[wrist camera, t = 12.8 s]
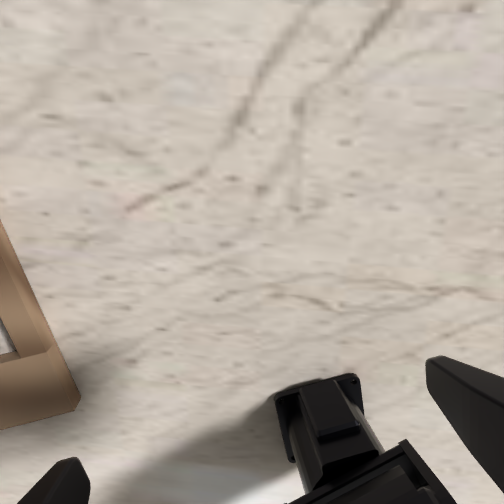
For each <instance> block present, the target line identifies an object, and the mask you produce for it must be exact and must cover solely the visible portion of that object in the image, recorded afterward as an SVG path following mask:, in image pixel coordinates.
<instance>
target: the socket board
mask: <svg viewBox="0 0 504 504" xmlns="http://www.w3.org/2000/svg"><path fill="white" fill-rule="evenodd" d="M0 317H1V319H2V321H3V323H4V325H5V327H6V329H7V331H8V333H9V335H10V337H11V339H12V341H13V343H14V345H15V347H16V349H17V351H15V352H10V353H6V354H2V355H0V430H3V429H7V428H11V427H14V426H18V425H22V424H26V423H30V422H33V421H37V420H41V419H45V418H49V417H52V416H56V415H60V414H64V413H68V412H71V411H74V410H75V408H76V406H77V404H78V403H79V401H80V399H81V396H80V394H79V392H78V389H77V387H76V385H75V383H74V381H73V378H72V376H71V374H70V372H69V370H68V367H67V365H66V363H65V361H64V359H63V356H62V354H61V352H60V350H59V348H58V345H57V343H56V341H55V339H54V337H53V334H52V332H51V330H50V328H49V326H48V324H47V321H46V319H45V317H44V315H43V313H42V310H41V308H40V306H39V304H38V302H37V299H36V297H35V295H34V293H33V291H32V288H31V286H30V284H29V282H28V280H27V277H26V275H25V273H24V271H23V269H22V266H21V264H20V262H19V260H18V258H17V255H16V253H15V251H14V249H13V247H12V245H11V242H10V240H9V238H8V236H7V234H6V231H5V229H4V227H3V225H2V223H1V220H0Z"/></svg>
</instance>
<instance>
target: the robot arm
mask: <svg viewBox="0 0 504 504" xmlns="http://www.w3.org/2000/svg"><path fill="white" fill-rule="evenodd" d="M425 366H426V384H427V388H428V391H429V393H430V395H431V396H432V398H433V399H434V401H435V402H436V403H437V405H438V406H439V408H440V409H441V411H442V412H443V414H444V415H445V417H446V418H447V420H448V421H449V422H450V424H451V425H452V427H453V428H454V430H455V431H456V433H457V434H458V436H459V437H460V439H461V440H462V441H463V443H464V444H465V446H466V447H467V448H468V450H469V451H470V453H471V454H472V455H473V456H474V458H475V459H476V460H477V461H478V463H479V464H480V465H481V466H482V467H483V469H484V470H485V471H486V472H487V474H488V475H489V476H490V477H491V478H492V480H493V481H494V482H495V483H496V485H497V486H498V487H499V488H500V489H501V491H502V492H503V493H504V378H503V377H500V376H498V375H495V374H492V373H489V372H487V371H484V370H481V369H478V368H476V367H473V366H470V365H468V364H465V363H462V362H459V361H457V360H454V359H451V358H448V357H446V356H436V357H433V358H429V359H427V360H426V364H425ZM352 380H354V381H352ZM351 381H352V382H351ZM281 399H284V400H282V401H279V400H281ZM274 401H275V405H276V409H277V414H278V418H279V423H280V427H281V431H282V436H283V440H284V444H285V449H286V453H287V457H288V460H289V462H291V463H296V464H297V467H298V470H299V474H300V477H301V481H302V484H303V488H304V491H305V495H304V496H302V497H300V498H298V499H296V500H294V501H292V502H291V503H289V504H457V503H456V502H455V500H454V499H453V497H452V496H451V495H450V493H449V492H448V491H447V489H446V488H445V487H444V486H443V484H442V483H441V482H440V481H439V479H438V478H437V477H436V475H435V474H434V473H433V472H432V470H431V469H430V468H429V467H428V465H427V464H426V463H425V462H424V460H423V459H422V458H421V457H420V455H419V454H418V453H417V452H416V450H415V449H414V448H413V447H412V445H411V444H410V443H409V442H408V440H407V439H405V440H403V441H401V442H399V443H398V444H399V445H397V446H395V447H393V448H392V449H390V450H388V451H386V452H385V450H384V448H383V447H382V445H381V443H380V442H379V440H378V438H377V437H376V435H375V434H374V432H373V430H372V429H371V427H370V425H369V424H368V422H367V420H366V419H365V417H364V409H363V401H362V393H361V385H360V379H359V378H358V376H357V375H356V374H354V373H351V374H347V375H343V376H340V377H336V378H332V379H329V380H325V381H321V382H318V383H314V384H310V385H307V386H303V387H299V388H295V389H292V390H288V391H284V392H281V393H278V394H277V395H276V396H275V397H274ZM89 496H90V480H89V478H88V476H87V474H86V472H85V470H84V468H83V466H82V464H81V462H80V460H79V459H78V458H77V457H71V458H67V459H64V460H61V461H58V462H57V463H56V464H55V465H54V466H53V467H52V468H51V469H50V470H49V471H48V472H47V473H46V474H45V475H44V476H43V477H42V478H41V479H40V480H39V481H38V482H37V483H36V484H35V485H34V486H33V487H32V488H31V489H30V491H29V492H28V493H27V494H26V495H25V496H24V497H23V498H22V499H21V500H20V501H19V502H18V503H17V504H88V502H89ZM285 504H287V503H285Z"/></svg>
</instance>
